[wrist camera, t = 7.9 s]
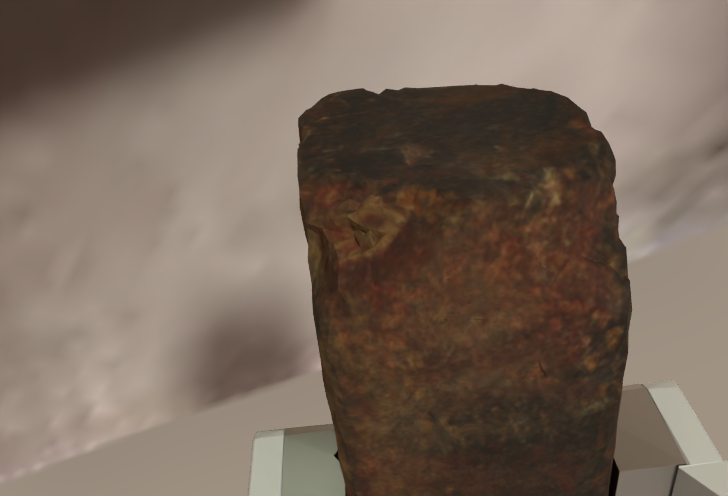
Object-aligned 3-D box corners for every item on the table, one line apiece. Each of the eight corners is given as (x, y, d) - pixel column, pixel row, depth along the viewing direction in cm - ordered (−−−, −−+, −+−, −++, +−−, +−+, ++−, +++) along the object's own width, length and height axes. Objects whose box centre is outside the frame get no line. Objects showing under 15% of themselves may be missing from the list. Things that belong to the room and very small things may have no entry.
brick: (529, 474, 17) (597, 681, 13) (369, 496, 17) (388, 709, 13) (542, 49, 11) (677, 198, 7) (293, 85, 11) (286, 252, 7)
